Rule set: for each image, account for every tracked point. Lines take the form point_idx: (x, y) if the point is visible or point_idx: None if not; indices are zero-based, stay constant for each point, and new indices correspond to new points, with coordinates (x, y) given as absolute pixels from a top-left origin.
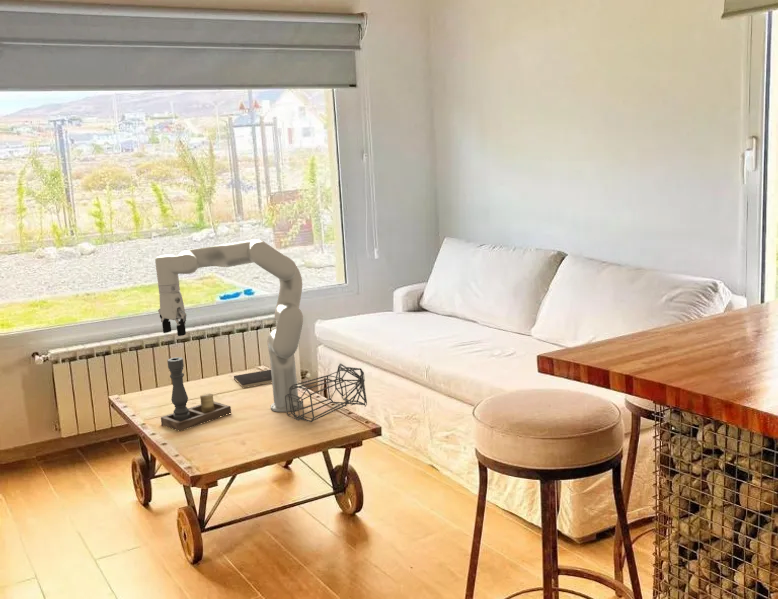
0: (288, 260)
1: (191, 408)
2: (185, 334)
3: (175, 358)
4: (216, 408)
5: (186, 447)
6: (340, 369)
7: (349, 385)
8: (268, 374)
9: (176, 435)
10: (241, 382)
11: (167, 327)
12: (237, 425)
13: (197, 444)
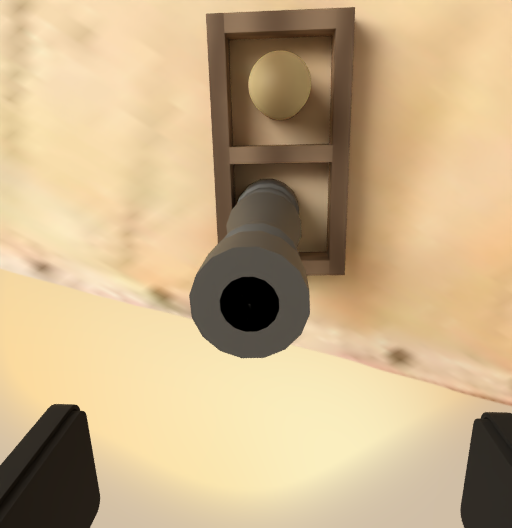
0: None
1: (225, 141)
2: (504, 414)
3: (228, 289)
4: (264, 35)
5: (495, 336)
6: None
7: None
8: None
9: (367, 294)
10: None
11: (57, 521)
12: (494, 95)
13: (508, 301)
